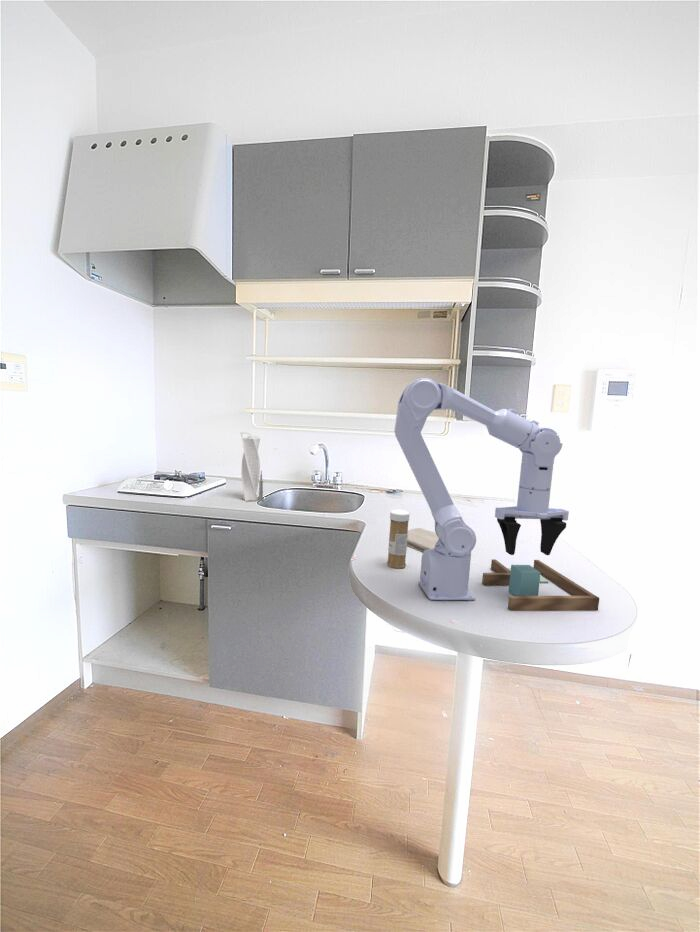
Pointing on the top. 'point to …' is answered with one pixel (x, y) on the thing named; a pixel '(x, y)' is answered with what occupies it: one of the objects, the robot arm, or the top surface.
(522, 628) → the top surface
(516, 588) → the teal block
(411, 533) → the washcloth
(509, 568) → the pad
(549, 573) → the channel
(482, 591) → the top surface
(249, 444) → the skyscraper
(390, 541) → the sprinkles bottle
